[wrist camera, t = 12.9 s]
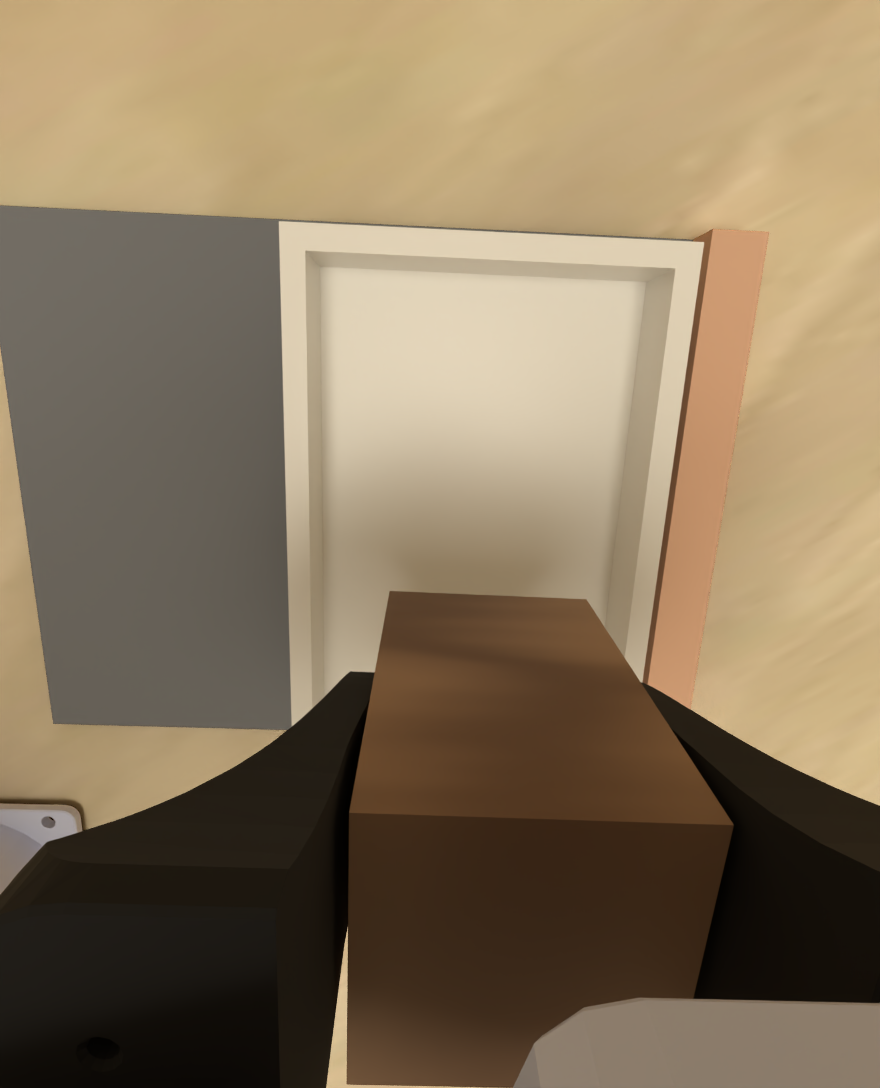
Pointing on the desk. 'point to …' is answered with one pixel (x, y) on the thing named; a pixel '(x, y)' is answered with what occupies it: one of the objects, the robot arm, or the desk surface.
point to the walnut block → (514, 840)
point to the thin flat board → (243, 459)
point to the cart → (474, 426)
